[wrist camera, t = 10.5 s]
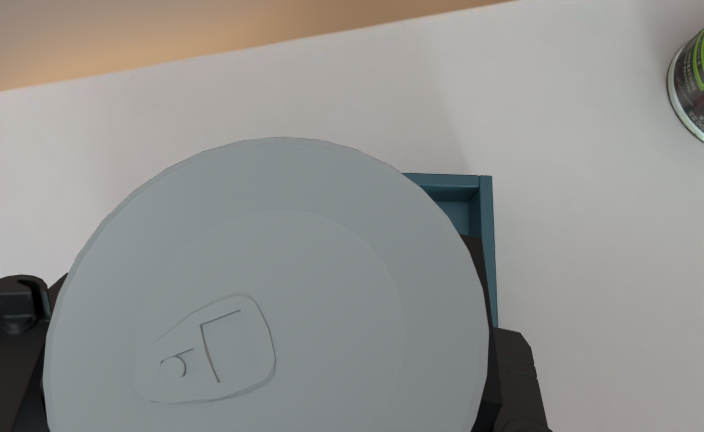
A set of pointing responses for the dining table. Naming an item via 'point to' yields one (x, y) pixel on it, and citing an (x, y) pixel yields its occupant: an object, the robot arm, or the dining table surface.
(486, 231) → the tray
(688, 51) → the coffee can
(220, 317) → the canned food
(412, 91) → the dining table surface
